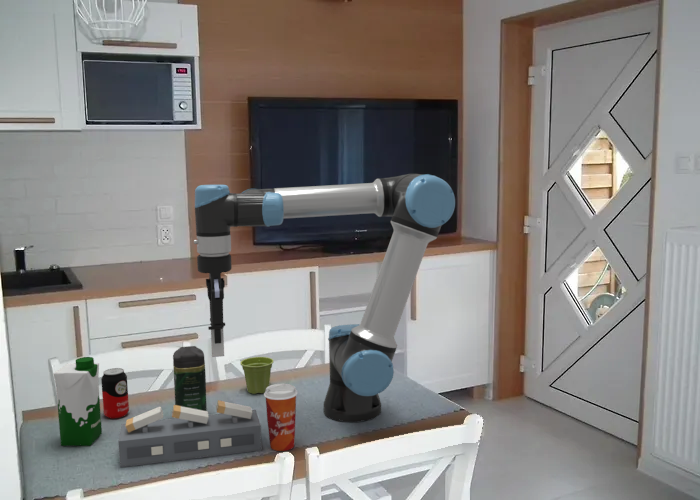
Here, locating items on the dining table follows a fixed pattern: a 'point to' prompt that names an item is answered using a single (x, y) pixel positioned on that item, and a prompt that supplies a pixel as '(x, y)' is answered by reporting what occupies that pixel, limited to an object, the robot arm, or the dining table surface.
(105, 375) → the beverage can
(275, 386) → the paper cup
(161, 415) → the rocker
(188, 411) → the rocker
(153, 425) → the console
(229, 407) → the rocker
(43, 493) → the dining table surface
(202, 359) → the coffee jar
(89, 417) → the milk carton
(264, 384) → the plant pot
